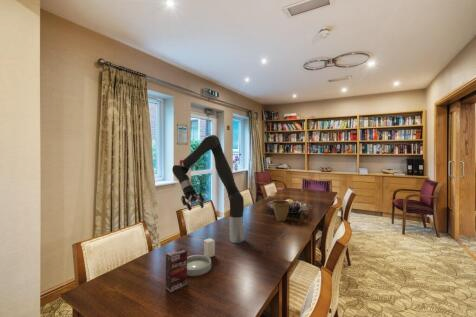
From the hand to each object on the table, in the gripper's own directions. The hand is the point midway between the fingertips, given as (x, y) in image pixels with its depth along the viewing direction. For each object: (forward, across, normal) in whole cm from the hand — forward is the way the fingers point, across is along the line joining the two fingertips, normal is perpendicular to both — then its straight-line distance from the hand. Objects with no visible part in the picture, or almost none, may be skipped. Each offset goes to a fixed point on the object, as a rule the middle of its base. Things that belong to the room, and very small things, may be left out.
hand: (196, 208), depth 144 cm
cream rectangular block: (+28, 0, +8) cm, 29 cm away
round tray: (+32, -13, +3) cm, 35 cm away
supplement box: (+39, -28, -3) cm, 48 cm away
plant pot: (+17, +85, +18) cm, 89 cm away
